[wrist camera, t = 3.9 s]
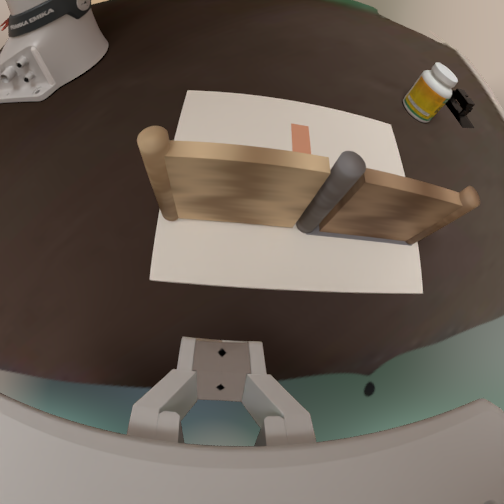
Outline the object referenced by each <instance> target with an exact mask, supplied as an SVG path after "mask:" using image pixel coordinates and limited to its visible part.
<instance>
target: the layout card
mask: <svg viewBox="0 0 504 504" xmlns="http://www.w3.org/2000/svg"><path fill="white" fill-rule="evenodd" d="M174 141H195V142H211V143H224V144H235V145H246V146H255V147H264V148H272V149H279V150H287V151H293V152H300V153H306V154H312V155H318V156H324V157H329V164H330V170H331V168H332V167H333V165H334V164H335V162H336V161H337V159H338V158H339V156H340V155H341V153H342V152H344V151H353V152H355V153H357V154H358V155H360V156H361V157H362V158H363V160H364V162H365V164H366V168H370V169H374V170H379V171H383V172H387V173H391V174H395V175H399V176H403V177H405V174H404V170H403V166H402V162H401V158H400V154H399V151H398V147H397V144H396V140H395V137H394V134H393V131H392V127H391V125H390V124H387V123H384V122H380V121H377V120H374V119H370V118H367V117H363V116H359V115H356V114H352V113H348V112H344V111H340V110H335V109H331V108H327V107H322V106H317V105H312V104H307V103H302V102H296V101H291V100H285V99H278V98H272V97H264V96H256V95H248V94H238V93H227V92H213V91H193V90H188V91H187V94H186V97H185V101H184V104H183V108H182V112H181V115H180V119H179V123H178V127H177V131H176V135H175V139H174ZM149 280H150V281H160V282H171V283H182V284H195V285H208V286H221V287H236V288H252V289H269V290H288V291H310V292H338V293H378V294H422V293H423V287H422V275H421V265H420V256H419V248H418V242H416V243H414V244H412V245H409V244H407V243H406V242H405V241H398V240H390V239H382V238H373V237H365V236H356V235H347V234H338V233H328V232H319V225H318V226H317V227H316V228H315V229H314V230H313V231H312V232H311V233H302V232H301V231H299V230H298V228H297V226H296V223H295V225H294V226H293V228H291V227H280V226H269V225H258V224H247V223H235V222H222V221H209V220H196V219H182V218H178V219H177V220H175V221H168V220H166V219H165V218H164V217H163V216H162V213H161V210H159V216H158V222H157V228H156V234H155V241H154V248H153V255H152V263H151V270H150V279H149Z"/></svg>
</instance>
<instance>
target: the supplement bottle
mask: <svg viewBox="0 0 504 504" xmlns="http://www.w3.org/2000/svg"><path fill="white" fill-rule="evenodd" d="M457 82H458V80H457V78H456V76H455V75H454V74H453V73H452V72H451V71H450V70H449V69H448V68H447V67H445V66H444V65H442V64H441V63H435V64H434V66H433V67H432V71H431V70H425V71H424V72H423V73H422V74H421V75H420V77H419V78H418V80H417V81H416V82H415V84H414V85H413V86H412V88H411V89H410V90H409V92H408V93H407V94H406V96H405V97H404V99H403V104H404V107H405V108H406V110H407V111H408V113H409V114H410V115H411V116H412V117H414V118H415V119H416V120H418V121H420V122H424V123H427V122H429V121H430V120H431V119H432V118H433V117H434V116H435V115H436V113H437V112H438V111H439V110H440V109H441V108H442V107H443V106H444V104H445V103H446V102H447V101H448V100H449V99H450V98H451V96H452V89H451V88H452V87H454V86H455V85H456V83H457Z"/></svg>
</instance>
